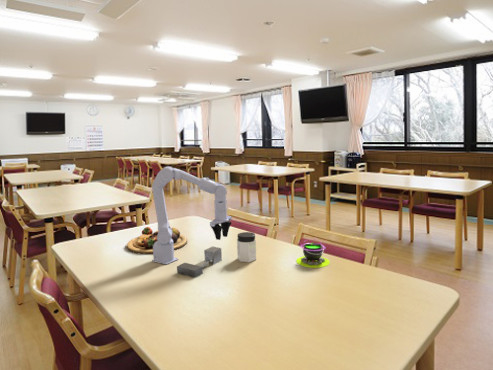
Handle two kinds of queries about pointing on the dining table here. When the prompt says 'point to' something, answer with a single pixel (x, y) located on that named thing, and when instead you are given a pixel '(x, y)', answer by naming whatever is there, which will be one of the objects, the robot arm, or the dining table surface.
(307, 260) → the toy cauldron
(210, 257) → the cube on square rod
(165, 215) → the robot arm
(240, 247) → the jar
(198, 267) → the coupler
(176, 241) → the wooden plate with food
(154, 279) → the dining table surface
